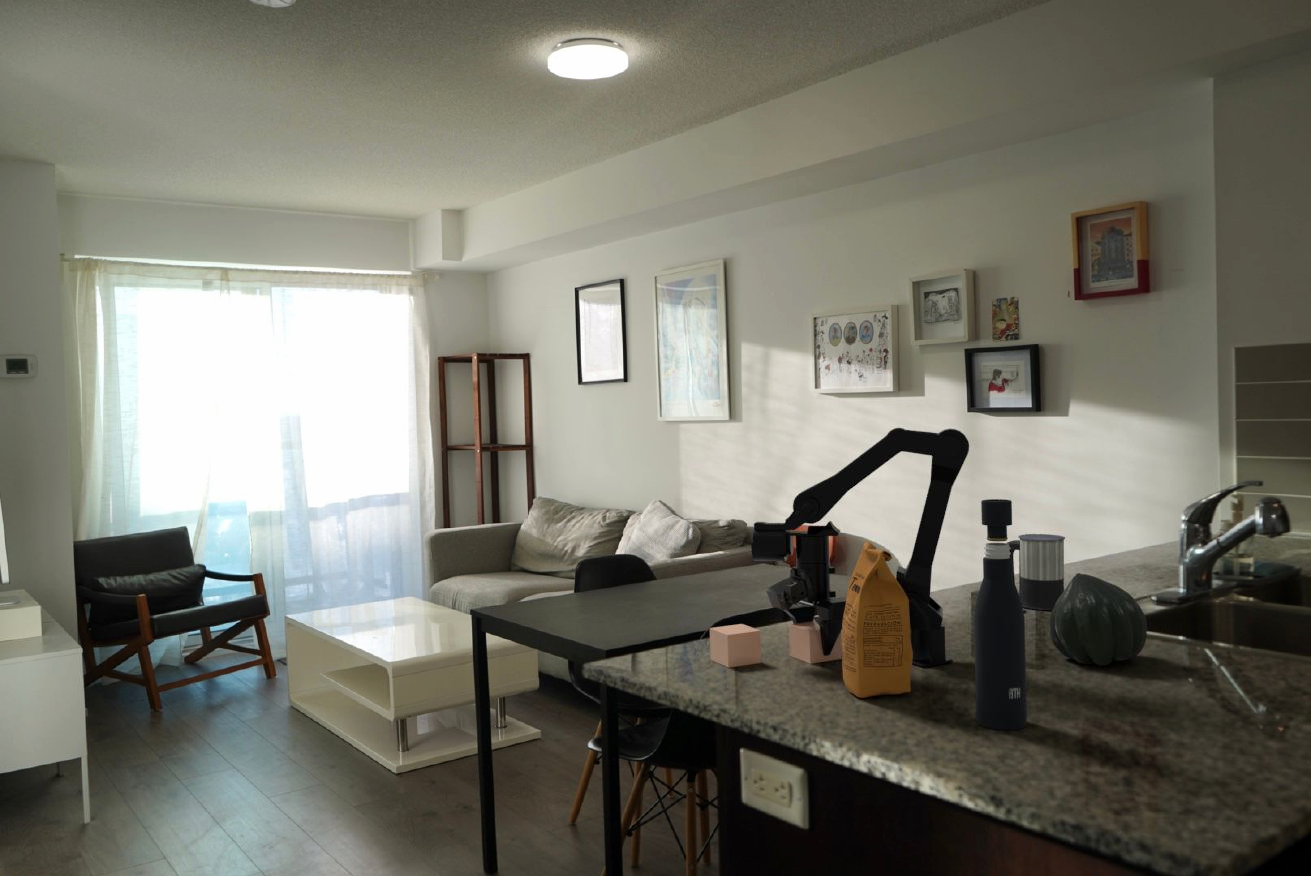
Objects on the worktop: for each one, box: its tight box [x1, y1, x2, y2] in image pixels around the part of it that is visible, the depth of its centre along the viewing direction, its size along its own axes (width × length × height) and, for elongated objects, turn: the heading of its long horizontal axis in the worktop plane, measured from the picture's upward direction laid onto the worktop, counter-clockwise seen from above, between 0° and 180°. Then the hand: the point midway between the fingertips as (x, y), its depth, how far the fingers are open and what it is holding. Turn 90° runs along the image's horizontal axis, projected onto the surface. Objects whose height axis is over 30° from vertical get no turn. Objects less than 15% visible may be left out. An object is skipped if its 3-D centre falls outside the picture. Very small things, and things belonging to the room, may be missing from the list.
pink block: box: [709, 623, 762, 669], centre depth 173 cm, size 6×6×6 cm
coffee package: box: [841, 541, 913, 699], centre depth 153 cm, size 10×12×22 cm
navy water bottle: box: [973, 498, 1028, 731], centre depth 135 cm, size 6×6×30 cm
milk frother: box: [1006, 533, 1066, 611], centre depth 209 cm, size 14×16×15 cm
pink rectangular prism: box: [788, 620, 842, 665], centre depth 174 cm, size 6×6×6 cm
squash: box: [1048, 572, 1148, 667], centre depth 167 cm, size 14×15×15 cm
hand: (815, 651), depth 174 cm, fingers closed on pink rectangular prism, 6 cm apart
